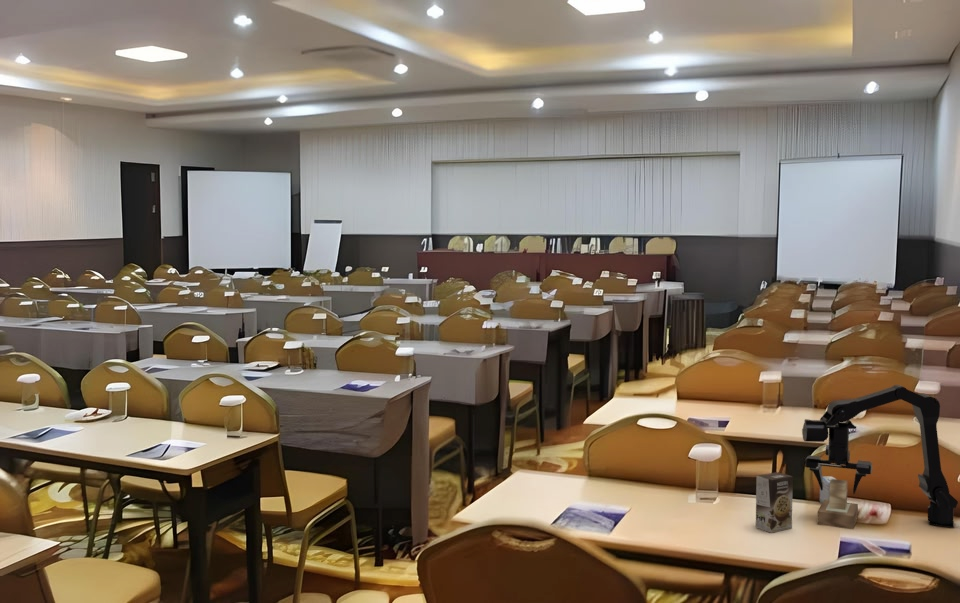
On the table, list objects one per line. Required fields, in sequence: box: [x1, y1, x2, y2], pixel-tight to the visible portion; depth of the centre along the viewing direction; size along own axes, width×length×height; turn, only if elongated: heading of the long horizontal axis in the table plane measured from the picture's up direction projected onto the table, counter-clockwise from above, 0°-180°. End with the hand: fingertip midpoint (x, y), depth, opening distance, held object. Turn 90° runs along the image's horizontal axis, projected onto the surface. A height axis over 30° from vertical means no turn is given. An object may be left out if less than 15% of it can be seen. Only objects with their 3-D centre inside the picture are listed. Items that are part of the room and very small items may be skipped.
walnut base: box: [817, 500, 859, 530], centre depth 254 cm, size 10×14×4 cm
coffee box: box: [755, 471, 794, 534], centre depth 247 cm, size 9×6×16 cm
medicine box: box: [819, 475, 838, 504], centre depth 270 cm, size 8×4×9 cm, turn 179°
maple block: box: [829, 478, 848, 510], centre depth 254 cm, size 4×4×8 cm
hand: (837, 491), depth 254 cm, fingers open, 9 cm apart
